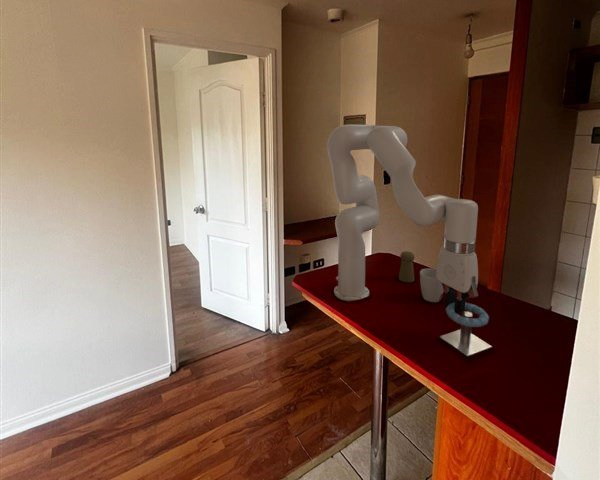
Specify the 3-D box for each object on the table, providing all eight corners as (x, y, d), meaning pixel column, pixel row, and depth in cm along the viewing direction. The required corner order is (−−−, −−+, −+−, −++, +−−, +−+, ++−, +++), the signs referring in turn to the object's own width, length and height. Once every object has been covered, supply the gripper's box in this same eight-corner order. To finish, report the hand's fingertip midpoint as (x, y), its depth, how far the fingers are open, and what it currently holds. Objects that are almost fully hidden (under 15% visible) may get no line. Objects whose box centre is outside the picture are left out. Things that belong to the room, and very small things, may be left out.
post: (439, 340, 90) (441, 309, 88) (462, 332, 93) (464, 302, 92) (467, 360, 82) (469, 327, 80) (491, 350, 85) (494, 318, 84)
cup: (446, 307, 107) (448, 279, 105) (420, 305, 108) (422, 277, 107) (441, 295, 114) (442, 269, 113) (417, 294, 116) (418, 267, 114)
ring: (437, 312, 89) (438, 305, 88) (464, 304, 93) (464, 297, 92) (469, 332, 80) (469, 325, 79) (497, 322, 84) (498, 315, 83)
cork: (395, 277, 130) (396, 250, 128) (408, 274, 132) (409, 249, 130) (404, 283, 125) (405, 256, 123) (417, 280, 126) (419, 254, 124)
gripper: (425, 239, 92) (422, 299, 95) (475, 258, 78) (470, 328, 81) (445, 235, 95) (442, 293, 98) (497, 253, 81) (491, 320, 84)
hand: (454, 308), depth 90 cm, fingers closed on ring, 2 cm apart
